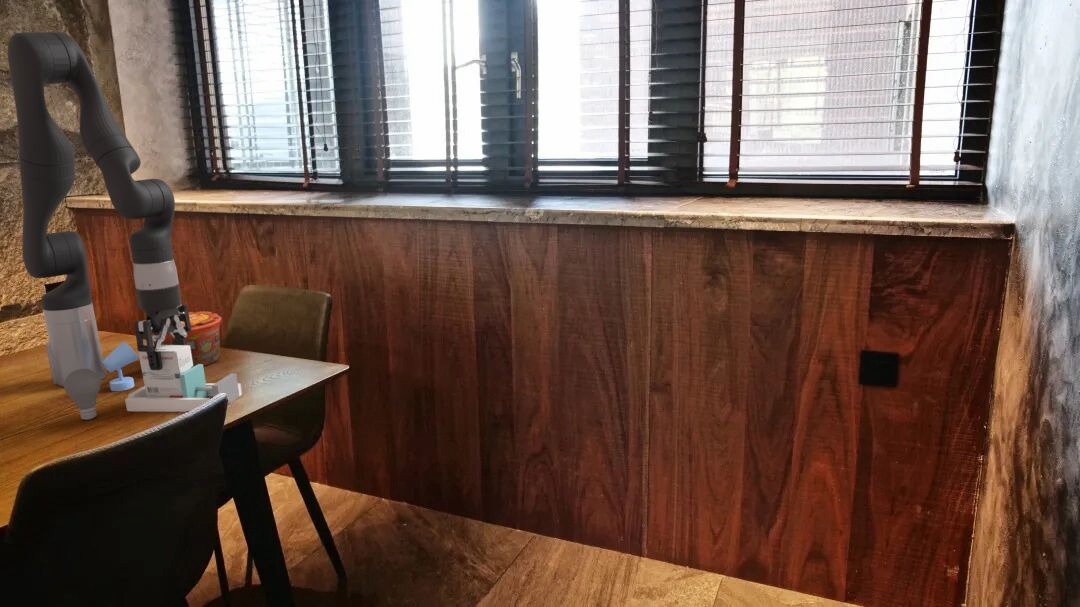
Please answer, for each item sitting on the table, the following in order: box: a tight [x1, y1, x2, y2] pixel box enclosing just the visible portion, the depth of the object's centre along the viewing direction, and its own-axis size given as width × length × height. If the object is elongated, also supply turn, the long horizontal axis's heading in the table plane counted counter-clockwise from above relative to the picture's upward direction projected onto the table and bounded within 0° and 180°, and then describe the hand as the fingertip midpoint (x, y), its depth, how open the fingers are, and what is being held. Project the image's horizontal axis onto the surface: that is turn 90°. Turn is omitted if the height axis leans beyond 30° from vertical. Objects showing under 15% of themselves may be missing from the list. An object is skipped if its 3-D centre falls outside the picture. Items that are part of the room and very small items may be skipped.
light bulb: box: [63, 369, 102, 421], centre depth 140 cm, size 6×6×10 cm
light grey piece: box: [124, 372, 243, 413], centre depth 147 cm, size 19×9×5 cm, turn 84°
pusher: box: [180, 364, 212, 398], centre depth 146 cm, size 5×7×7 cm
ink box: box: [137, 344, 193, 398], centre depth 146 cm, size 9×5×12 cm, turn 80°
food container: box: [152, 310, 223, 368], centre depth 173 cm, size 16×16×11 cm
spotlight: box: [102, 340, 140, 392], centre depth 157 cm, size 5×10×7 cm
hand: (169, 362), depth 146 cm, fingers open, 8 cm apart
